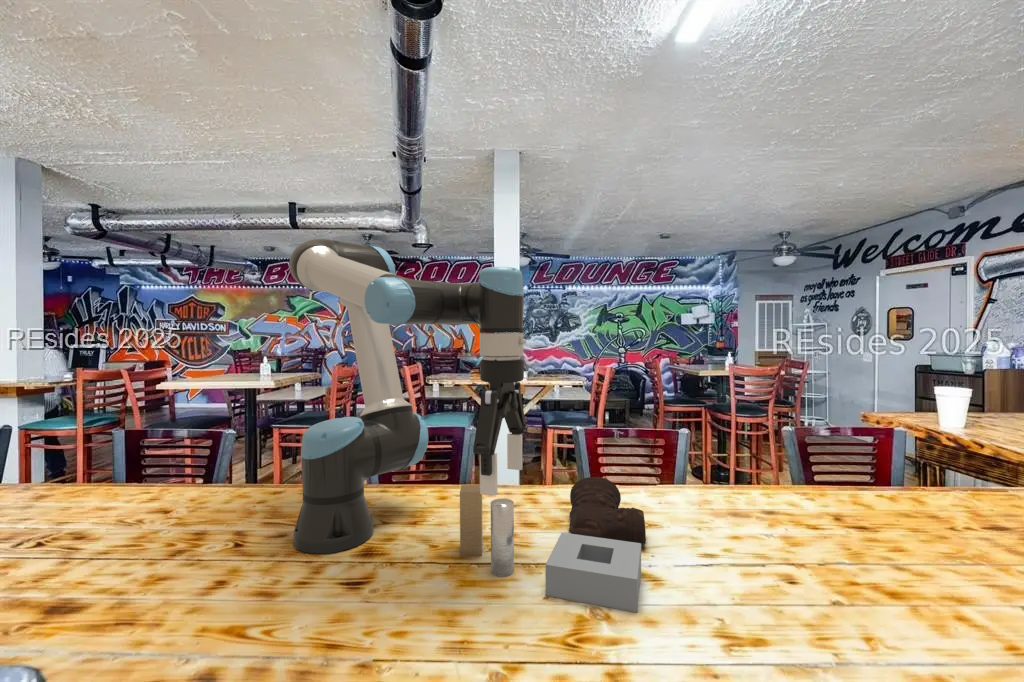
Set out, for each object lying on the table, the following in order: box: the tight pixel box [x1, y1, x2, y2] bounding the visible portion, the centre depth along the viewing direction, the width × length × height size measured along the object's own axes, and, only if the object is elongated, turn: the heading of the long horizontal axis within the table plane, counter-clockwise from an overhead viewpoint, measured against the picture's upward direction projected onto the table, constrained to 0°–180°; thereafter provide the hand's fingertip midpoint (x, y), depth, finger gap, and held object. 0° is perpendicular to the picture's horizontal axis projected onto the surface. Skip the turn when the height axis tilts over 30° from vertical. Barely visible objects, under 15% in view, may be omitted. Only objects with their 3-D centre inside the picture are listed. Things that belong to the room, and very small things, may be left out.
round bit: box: [490, 498, 515, 578], centre depth 81 cm, size 4×4×12 cm
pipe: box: [568, 476, 647, 546], centre depth 96 cm, size 10×15×15 cm
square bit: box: [459, 484, 484, 557], centre depth 88 cm, size 4×4×12 cm
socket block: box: [545, 532, 642, 613], centre depth 77 cm, size 14×12×5 cm
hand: (502, 480), depth 80 cm, fingers open, 13 cm apart
